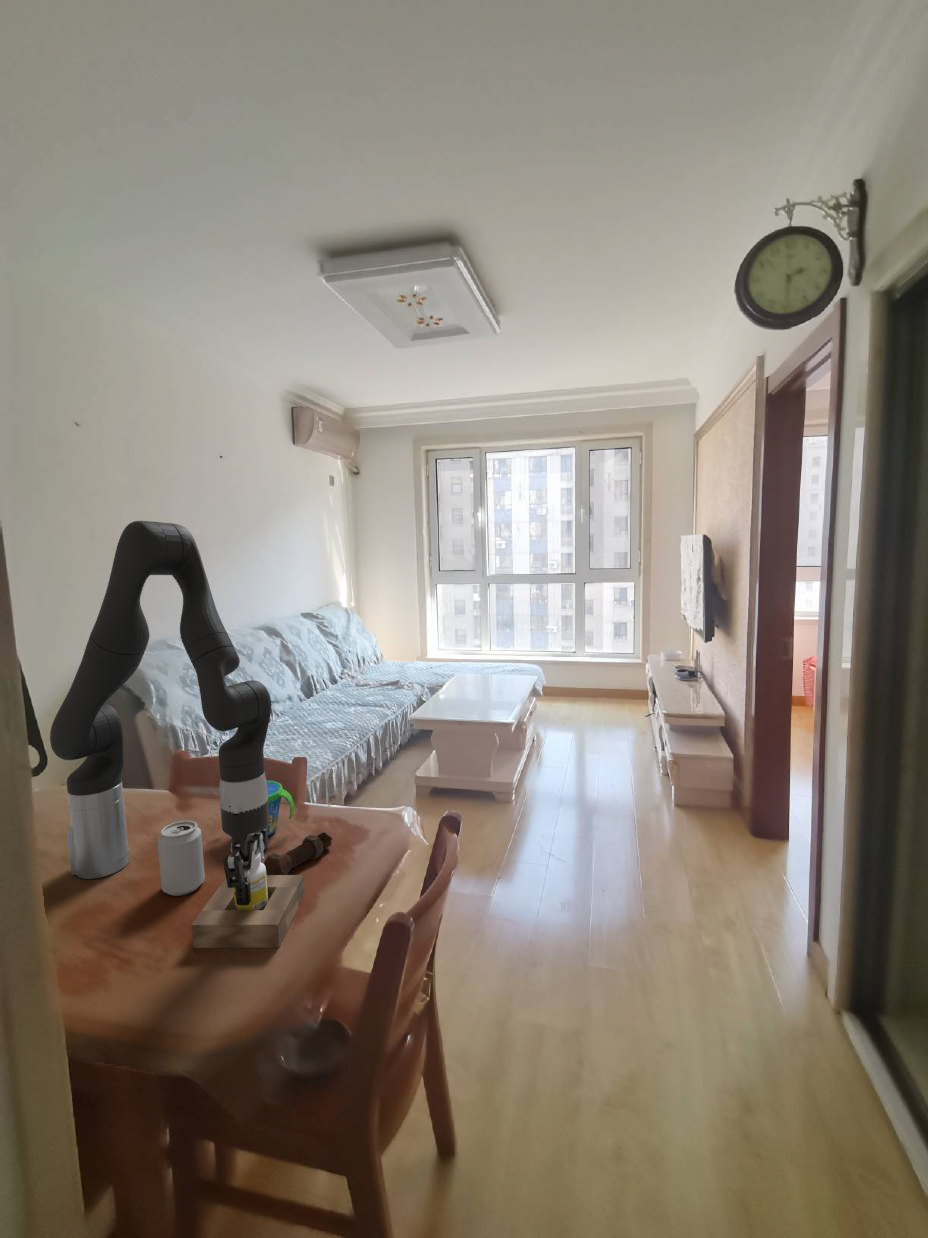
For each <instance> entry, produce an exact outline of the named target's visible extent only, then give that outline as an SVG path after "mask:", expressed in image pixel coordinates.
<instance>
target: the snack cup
mask: <svg viewBox="0 0 928 1238" xmlns="http://www.w3.org/2000/svg"><path fill="white" fill-rule="evenodd" d="M266 781H267V791H268V807H269V823H268V836H271V835H272V834H274V833H275V832H276V831H277V829H278V824H279V818H280V817H279V815H280V807H281V801H282V797H283V798H284V799H285V800H286V803H288V804H289V806H290V807H289V817H288V819H289V820H291V819H292V818H293V816H294V812H295V803H294V799H293V797H292V795H291V794H290V793H289V792H288V791H287V790H285V789H284V788H283V785H282V784H281V783H280V782H277V781H275V780H267V779H266Z"/></svg>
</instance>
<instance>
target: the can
mask: <svg viewBox="0 0 928 1238" xmlns="http://www.w3.org/2000/svg"><path fill="white" fill-rule="evenodd" d="M157 850H158V853H157V854H158V863H159V874H160V886H161V890H162V891H163V893H165V894H167V895H170V896H173V897H174V896H175V897H176V896H177V897H179V896H185V895H187V894H188V895H189V894H190V893H192V892H194V891H196V890H197V889H199V887H200V886H201V885H202V884H203V883H204V881H205V880H206V876H205V863H204V851H203V836H202V829H201V828H200V827H198V823H197V822H196V821H193V820H181V821H175V822H173V823H172V822H171V823H169V824H168V825H166V826H164V827H163V828H162V829H161V830H160V835H159V837H158V838H157Z"/></svg>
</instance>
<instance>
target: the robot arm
mask: <svg viewBox="0 0 928 1238" xmlns="http://www.w3.org/2000/svg"><path fill="white" fill-rule="evenodd" d="M150 576H172V577H173V578H174V580H175V582H176V583H177V585H178V587H179V588H180V592H181V594H182V610H181V615H180V622H179V635H180V639H181V642H182V645H183V647H184V649H185V652H186V654H187V656H188V659H189V660H190V663H191V664H192V667H193V668H194V670H195V673H196V674H195V675H196V678H197V685H198V688H199V694H200V702H201V703H200V704H201V709H202V714H203V716H204V719H205V721H206V722H207V723H208V725H209V726H210V727H211V728H212V729H215V730H216V731H218V732H219V731H220V732H229V731H231V730H235V729H236V732H235V734H234V735H232V736H231V737H230V738H228V739H227V740H226V741H224V742H223V743H222V744H221V745H220V746H219V749H218V765H219V766H218V767H219V779H220V780H219V803H220V816H221V817H220V818H221V828H222V831H223V832H224V833H225V834H226V835H228V836H229V837H231V838H232V839H231V843H230V851H231V853H230V855H224V857H223V859H222V863H223V870H224V875H225V879H226V881H227V886H228V888H235V891H236V903H237V905H249V903H250V902H251V893H250V870H251V869H252V868H253V867H254V857H255V854H256V852H257V851H259V852H260V855H261V863H263V864H264V861H265V859H266V857H265V854H267V853H268V850H269V848H268V847H269V835H268V823H269V807H268V791H267V781H268V780H267V777H266V771H265V770H266V769H265V755H264V746H265V742H266V738H267V734H268V728H269V724H270V719H271V715H272V698H271V695H270V693H269V690H268V688H267V687H266V686H265V684H264V683H262V682H261V681H258V680H255V679H253V680H246V681H242V682H238V683H233V684H230V685H227V684H226V679H225V677H227V676H229V675H230V674H232V673H234V672H235V671H236V670H237V669H238V668H239V666H240V662H241V661H240V656H239V655H238V654H239V653H238V652H237V650H236V648H235V645H234V643H233V642H232V640H231V638H230V636H229V634H228V632H227V630H226V628H225V626H224V623H223V622H222V620H221V618H220V615H219V613H218V610H217V607H216V604H215V601H214V597H213V594H212V591H211V586H210V583H209V581H208V577H207V573H206V571H205V566H204V564H203V560H202V557H201V554H200V551H199V547H198V545H197V542H196V539H194V536H193V534H192V533H191V531H190V530H189V529H188V528H187V527H185V526H183V525H181V524H179V523H172V522H162V521H149V520H135V521H132V522H130V523H128V524H127V525H126V526H125V527H124V529H123V531H122V533H121V534H120V537H119V539H118V542H117V546H116V549H115V553H114V558H113V562H112V566H111V571H110V575H109V580H108V583H107V587H106V591H105V594H104V597H103V599H102V603H101V606H100V609H99V611H98V615H97V617H96V620H95V622H94V625H93V627H92V629H91V632H90V633H89V638H88V640H87V642H86V643H87V644H86V646H85V648H84V652H83V656H82V659H81V661H80V664H79V666H78V667H77V668H78V669H77V670H76V674H75V676H74V679H73V682H72V683H71V686H70V688H69V689H68V692H67V694H66V696H65V697H64V699H63V701H62V703H61V705H60V707H59V709H58V711H57V713H56V714H55V717H54V719H53V721H52V724H51V728H50V731H49V732H50V733H49V741H50V747H51V749H52V751H53V753H54V755H56V756H57V757H58V758H60V759H61V760H63V761H64V760H65V761H75V760H80V759H82V758H85V760H84V761H83V762H82V763H81V764H80V765H79V766H78V767H77V768H76V769H74V771H72V772H71V773H70V774H69V775H68V776H67V778H66V790H67V799H68V808H69V816H70V826H69V827H68V828H67V829H66V838H67V846H68V847H67V849H68V856H69V865H70V866H69V867H70V874H71V875H72V876H73V875H75V876H77V877H78V878H80V879H85V880H94V879H100V878H103V877H107V876H110V875H112V874H113V875H114V874H115V873H117V872H119V871H120V870H123V869H124V868H125V867H126V866H128V864H129V862H130V850H129V842H128V841H129V840H128V829H127V828H128V827H127V819H126V808H125V800H124V798H125V797H124V789H123V780H122V779H123V778H122V776H123V775H122V774H123V771H124V767H125V757H124V754H125V753H124V752H125V751H124V729H123V724H122V719H121V716H120V715H119V713H118V711H117V710H116V709H115V708H114V707H113V706H111V705H110V704H107V703H106V702H107V701H108V700H109V699H110V698H111V697H112V696H113V695H114V694H115V693H117V691H119V689H120V688H122V687H123V685H124V684H125V683H126V682H127V681H128V680H130V678H131V677H132V676H133V675H134V673H135V672H136V671H137V670H138V668H139V666H140V664H141V663H142V662H141V661H142V659H143V657H144V654H145V652H146V650H147V647H148V644H149V641H150V629H149V624H148V623H147V622H148V621H147V620H146V619H147V618H146V616H145V614H144V612H143V609H142V606H141V605H142V604H141V596H142V591H143V588H144V587H145V583H146V581H147V579H149V577H150ZM266 780H267V781H266ZM243 861H249V862H248V864H242V862H243ZM243 870H245V877H244V871H243Z"/></svg>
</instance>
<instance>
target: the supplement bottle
mask: <svg viewBox="0 0 928 1238" xmlns="http://www.w3.org/2000/svg"><path fill="white" fill-rule="evenodd" d="M248 862H249V861H243V862H242V864H248ZM243 871H244V877H245V870H243ZM250 893H251V902H250V903H249V905H237V903H236V891H235V888H234V899H235V910H264V908H265V906H266V905H267V903H268V890H267V877H266V867H265V865H264V862H263V863H261V855H260V852H259V851H257V852H256V854H255V857H254V867H253V868H252V869H251V870H250Z"/></svg>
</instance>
